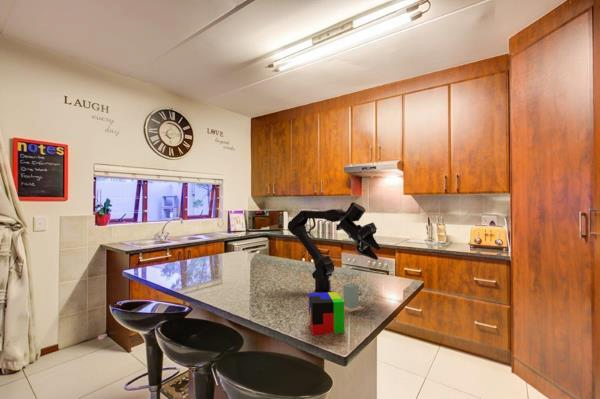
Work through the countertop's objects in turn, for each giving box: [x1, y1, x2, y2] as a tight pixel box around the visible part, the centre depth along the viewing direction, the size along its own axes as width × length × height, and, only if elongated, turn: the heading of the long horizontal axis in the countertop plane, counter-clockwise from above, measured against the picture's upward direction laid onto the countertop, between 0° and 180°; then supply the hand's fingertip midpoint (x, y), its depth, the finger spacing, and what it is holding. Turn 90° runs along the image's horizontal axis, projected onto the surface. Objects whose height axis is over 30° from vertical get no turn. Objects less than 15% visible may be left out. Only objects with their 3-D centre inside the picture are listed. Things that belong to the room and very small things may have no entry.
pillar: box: [343, 282, 360, 312], centre depth 109 cm, size 4×4×9 cm
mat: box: [341, 297, 366, 315], centre depth 113 cm, size 14×10×1 cm
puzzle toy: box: [308, 291, 346, 336], centre depth 94 cm, size 10×10×10 cm
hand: (378, 254), depth 116 cm, fingers open, 9 cm apart
